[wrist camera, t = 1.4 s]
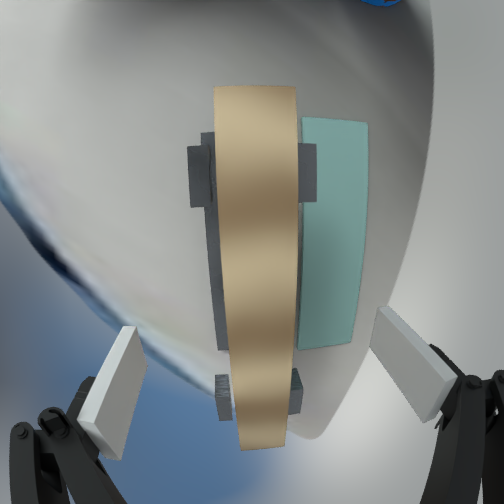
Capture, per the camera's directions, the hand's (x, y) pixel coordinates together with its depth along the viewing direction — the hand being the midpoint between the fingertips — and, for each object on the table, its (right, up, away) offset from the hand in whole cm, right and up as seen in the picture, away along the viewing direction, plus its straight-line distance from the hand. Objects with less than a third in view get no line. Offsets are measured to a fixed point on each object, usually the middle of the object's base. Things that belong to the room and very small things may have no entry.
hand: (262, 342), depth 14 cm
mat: (+8, +6, +15) cm, 18 cm away
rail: (0, +2, +4) cm, 4 cm away
